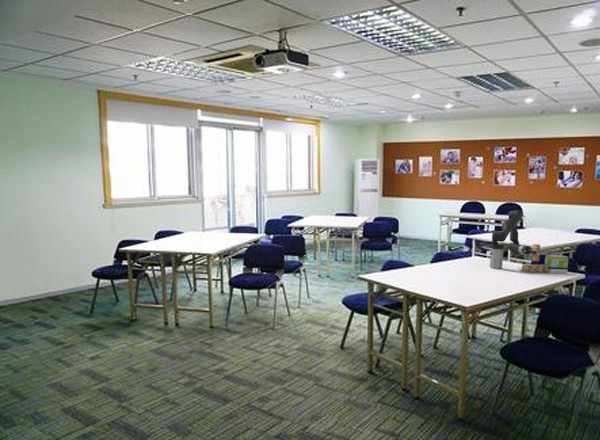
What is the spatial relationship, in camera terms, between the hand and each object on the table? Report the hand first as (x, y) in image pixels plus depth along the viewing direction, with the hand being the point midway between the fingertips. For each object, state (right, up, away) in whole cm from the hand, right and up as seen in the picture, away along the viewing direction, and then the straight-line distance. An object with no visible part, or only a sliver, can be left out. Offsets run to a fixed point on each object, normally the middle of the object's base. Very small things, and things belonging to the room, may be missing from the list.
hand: (538, 252), depth 391 cm
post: (-1, -7, +3) cm, 8 cm away
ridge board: (-1, -17, +4) cm, 17 cm away
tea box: (+18, -18, +6) cm, 26 cm away
